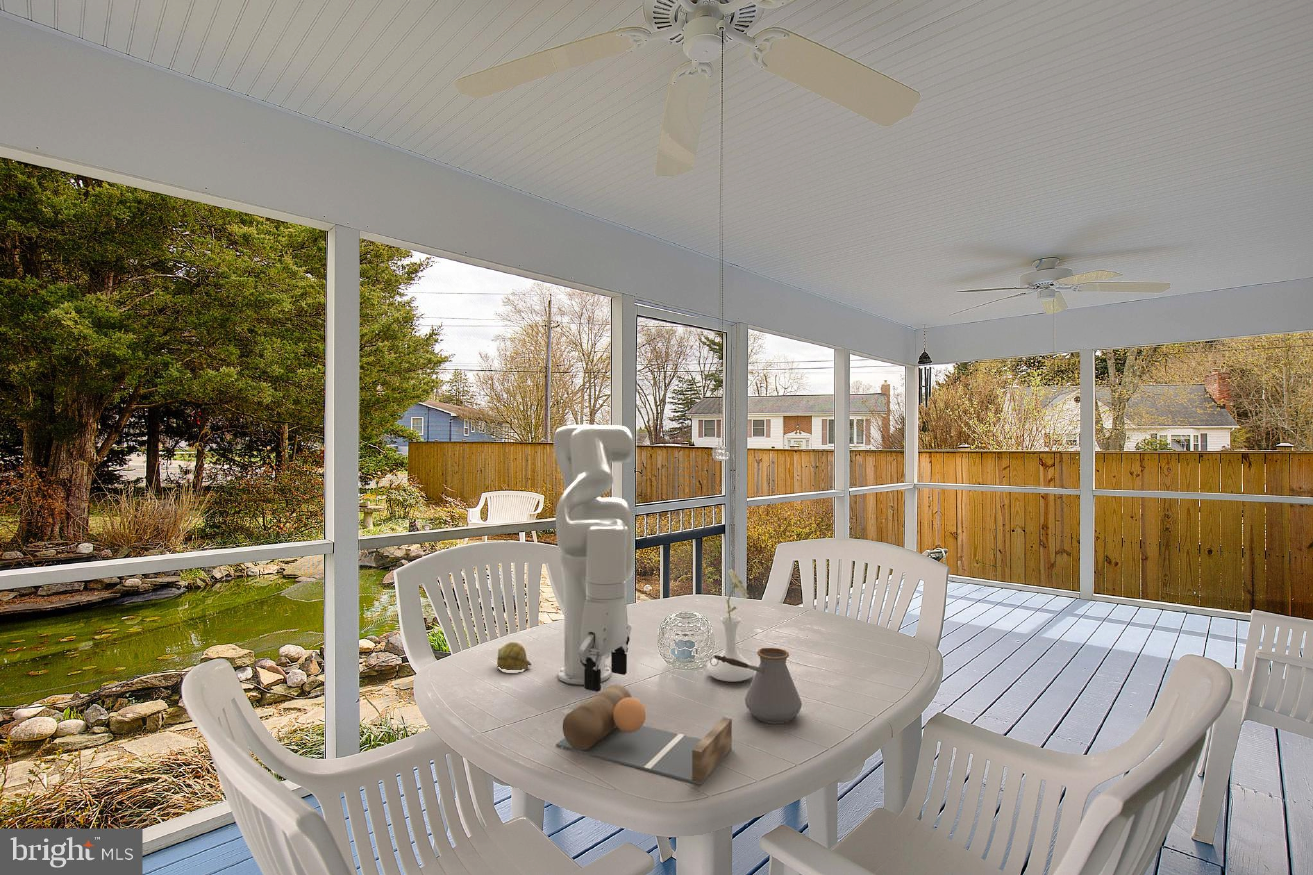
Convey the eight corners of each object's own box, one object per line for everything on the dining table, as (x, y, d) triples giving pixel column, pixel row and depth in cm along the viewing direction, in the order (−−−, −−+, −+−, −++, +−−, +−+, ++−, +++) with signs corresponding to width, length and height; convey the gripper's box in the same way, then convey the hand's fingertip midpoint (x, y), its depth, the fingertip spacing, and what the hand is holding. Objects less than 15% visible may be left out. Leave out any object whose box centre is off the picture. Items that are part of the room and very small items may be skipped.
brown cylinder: (603, 716, 131) (603, 681, 131) (633, 723, 128) (633, 687, 128) (562, 745, 118) (562, 707, 118) (594, 754, 115) (595, 714, 115)
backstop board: (723, 744, 119) (723, 717, 119) (731, 746, 118) (731, 718, 118) (692, 780, 107) (692, 749, 107) (701, 782, 106) (701, 751, 106)
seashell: (527, 685, 159) (541, 654, 164) (518, 676, 154) (533, 644, 158) (492, 674, 162) (507, 644, 166) (483, 663, 156) (499, 633, 161)
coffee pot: (774, 699, 140) (774, 630, 140) (813, 719, 131) (814, 644, 131) (694, 723, 129) (694, 647, 129) (731, 746, 119) (731, 664, 119)
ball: (634, 685, 123) (657, 709, 121) (618, 707, 125) (640, 731, 122) (618, 697, 118) (641, 722, 115) (601, 719, 119) (624, 744, 117)
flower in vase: (753, 688, 147) (753, 577, 147) (703, 684, 149) (703, 575, 149) (756, 668, 160) (756, 566, 160) (710, 664, 162) (710, 564, 162)
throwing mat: (596, 717, 132) (596, 714, 132) (731, 748, 118) (731, 745, 118) (555, 746, 119) (555, 743, 119) (701, 785, 106) (701, 781, 106)
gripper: (613, 579, 132) (612, 664, 132) (563, 597, 116) (562, 693, 116) (645, 583, 128) (645, 670, 128) (598, 602, 113) (598, 701, 113)
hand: (606, 681), depth 122 cm, fingers open, 9 cm apart
